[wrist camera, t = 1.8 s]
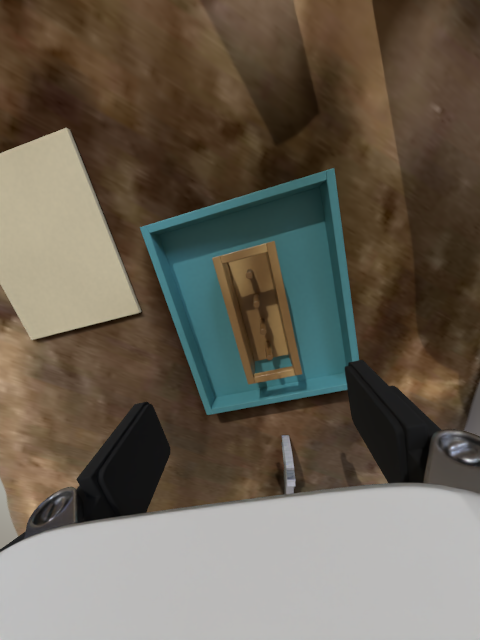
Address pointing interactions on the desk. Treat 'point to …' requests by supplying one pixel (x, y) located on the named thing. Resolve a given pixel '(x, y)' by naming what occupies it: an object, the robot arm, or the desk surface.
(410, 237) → the desk surface
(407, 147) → the desk surface
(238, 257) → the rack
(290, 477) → the caliper
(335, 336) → the teal tray
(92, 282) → the mat
